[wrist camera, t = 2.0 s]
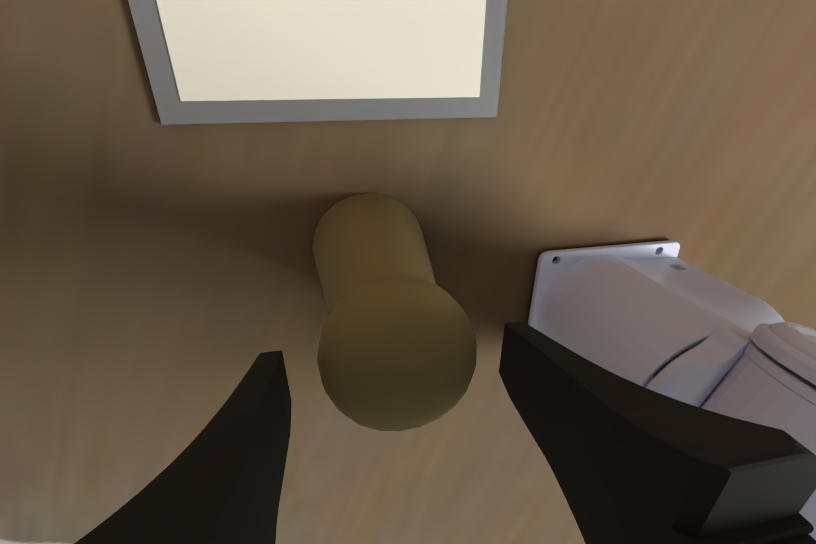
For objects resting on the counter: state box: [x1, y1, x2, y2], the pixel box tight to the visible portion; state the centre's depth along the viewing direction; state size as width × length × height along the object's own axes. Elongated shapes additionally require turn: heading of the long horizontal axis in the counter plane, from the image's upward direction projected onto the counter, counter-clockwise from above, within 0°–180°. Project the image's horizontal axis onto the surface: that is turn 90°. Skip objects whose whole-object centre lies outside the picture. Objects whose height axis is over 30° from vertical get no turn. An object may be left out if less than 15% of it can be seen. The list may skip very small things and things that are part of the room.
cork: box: [312, 193, 477, 431], centre depth 16 cm, size 6×6×11 cm
